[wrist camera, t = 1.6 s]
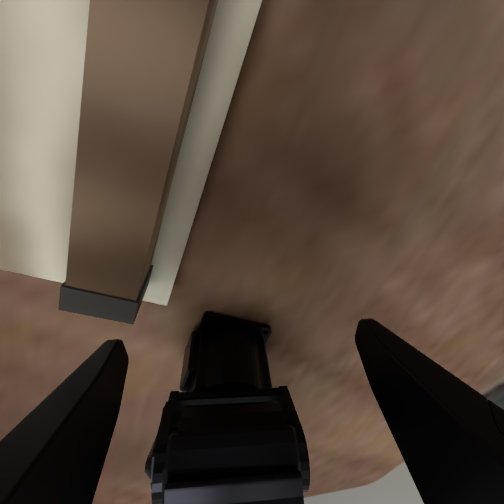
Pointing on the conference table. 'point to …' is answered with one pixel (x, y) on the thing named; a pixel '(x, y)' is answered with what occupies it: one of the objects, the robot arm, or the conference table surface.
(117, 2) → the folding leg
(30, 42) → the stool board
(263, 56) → the conference table surface
